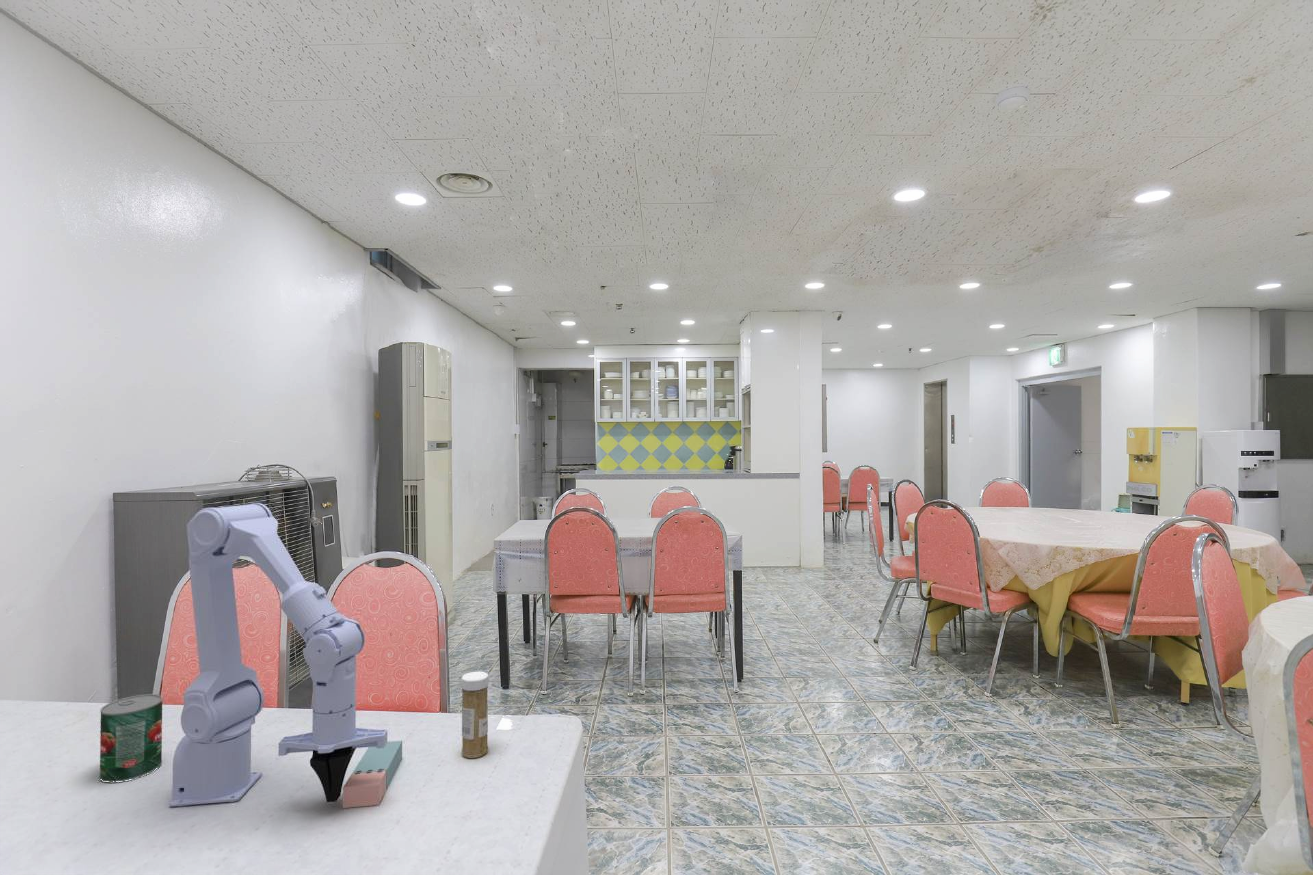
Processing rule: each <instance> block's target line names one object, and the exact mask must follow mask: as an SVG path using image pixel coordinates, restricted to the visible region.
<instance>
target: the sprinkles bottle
mask: <svg viewBox="0 0 1313 875" xmlns="http://www.w3.org/2000/svg"><path fill="white" fill-rule="evenodd" d="M489 680H490V679H489V673H487V672H485V671H472V672H471V671H470V672H468V673H465V674H463V675H462V676H461V682H460V683H461V684H460V685H461V691H462V692H461V693H462V696H461V697H462V702H461V703H462V704H461V737H462V739H461V740H462V741H461V742H462V746H461V747H462V750H461V755H462V756H463V757H464V758H468V759H477V758H481V757H483V756H485V755H486V754H487V753H488V751H489V745H488V743H489V742H488V739H489V738H488V732H489V723H488V722H489V721H488V719H489V718H488V717H489V716H488V714H489V712H488V709H489V708H488V707H489V705H488V688H489V682H490V681H489Z"/></svg>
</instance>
